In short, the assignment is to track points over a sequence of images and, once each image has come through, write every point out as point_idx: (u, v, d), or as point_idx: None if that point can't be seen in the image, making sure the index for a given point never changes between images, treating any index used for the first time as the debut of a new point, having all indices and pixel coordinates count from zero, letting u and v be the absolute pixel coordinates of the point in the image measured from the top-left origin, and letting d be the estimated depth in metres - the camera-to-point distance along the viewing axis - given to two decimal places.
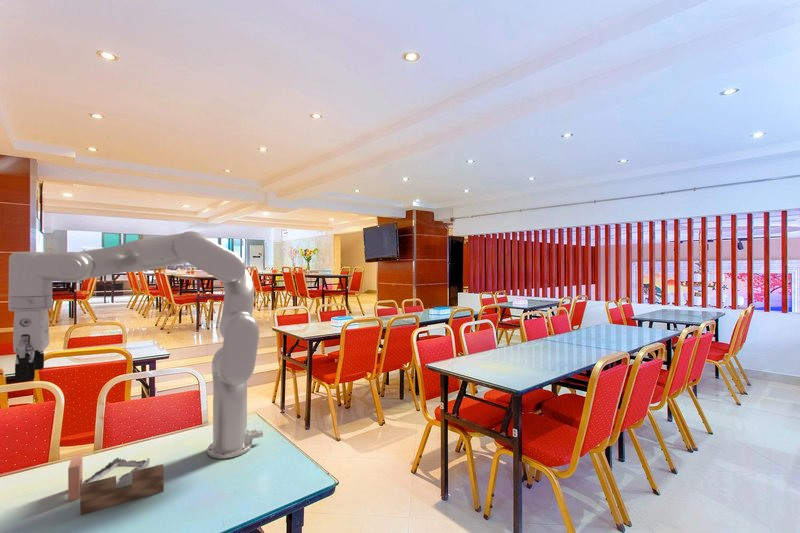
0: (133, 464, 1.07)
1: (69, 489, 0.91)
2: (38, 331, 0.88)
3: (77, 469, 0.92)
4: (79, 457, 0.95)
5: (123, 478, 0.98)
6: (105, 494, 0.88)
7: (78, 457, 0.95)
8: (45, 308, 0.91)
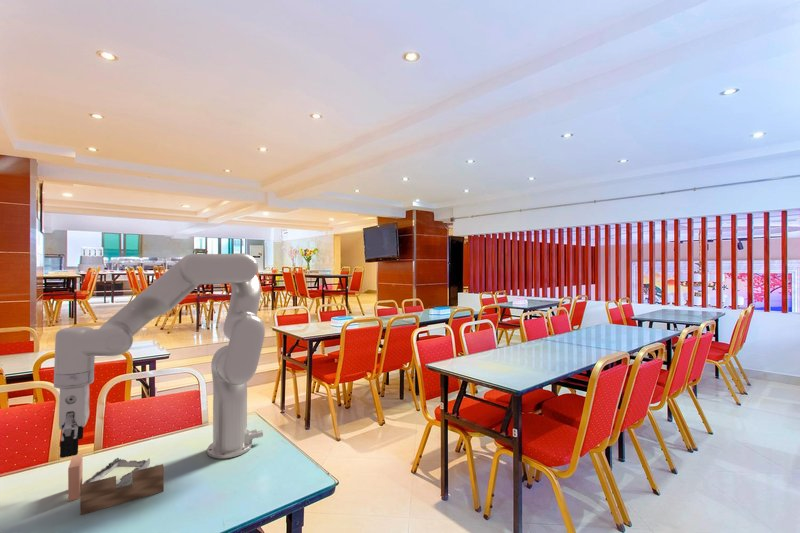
0: (133, 464, 1.07)
1: (69, 489, 0.91)
2: (82, 407, 0.91)
3: (77, 469, 0.92)
4: (79, 457, 0.95)
5: (124, 478, 0.98)
6: (105, 494, 0.88)
7: (78, 457, 0.95)
8: (88, 383, 0.93)
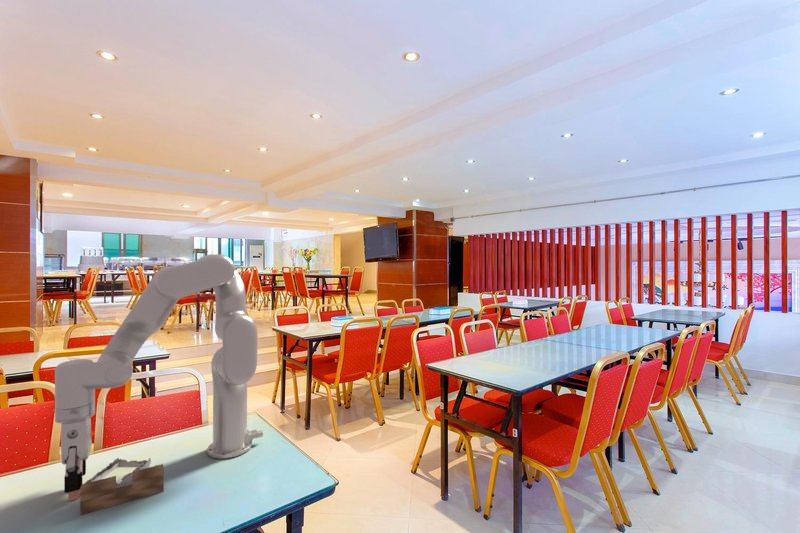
0: (134, 464, 1.06)
1: None
2: (84, 441, 0.91)
3: None
4: None
5: (125, 478, 0.98)
6: (105, 494, 0.88)
7: (78, 457, 0.95)
8: (89, 416, 0.93)
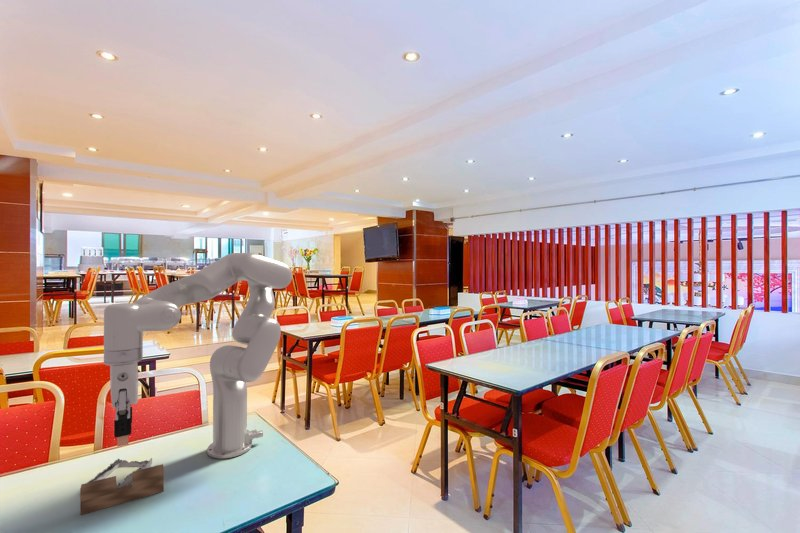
0: (135, 465, 1.06)
1: None
2: (134, 384, 0.88)
3: None
4: None
5: (127, 478, 0.98)
6: (105, 494, 0.88)
7: None
8: (138, 360, 0.91)
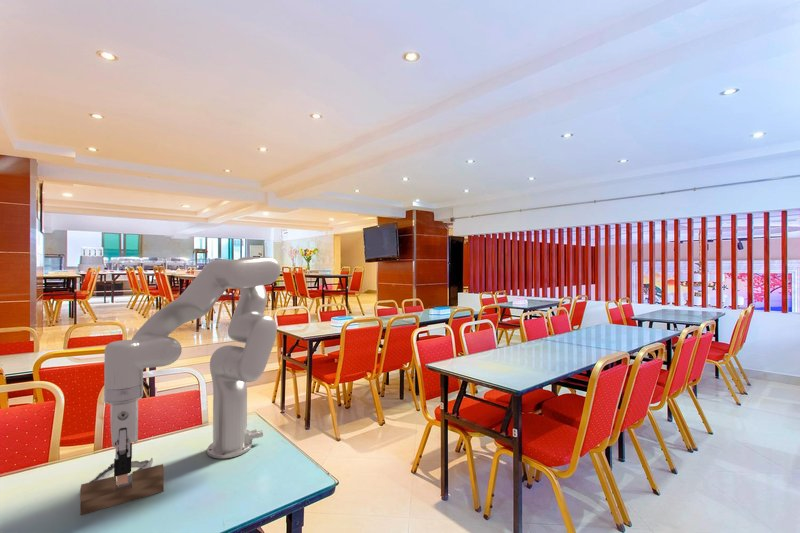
0: (135, 464, 1.06)
1: None
2: (134, 423, 0.88)
3: None
4: (126, 441, 0.93)
5: (128, 478, 0.98)
6: (105, 494, 0.88)
7: None
8: (138, 397, 0.91)
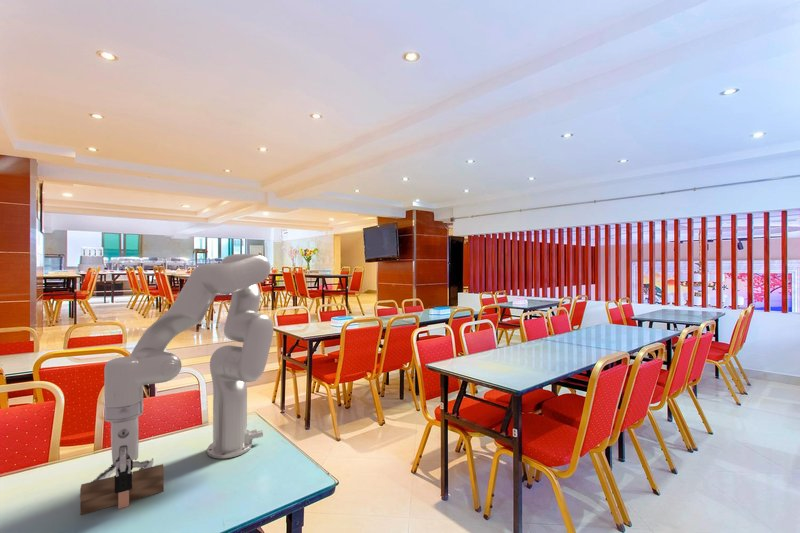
0: (136, 465, 1.06)
1: (119, 496, 0.88)
2: (134, 440, 0.88)
3: None
4: (127, 463, 0.93)
5: None
6: (105, 494, 0.88)
7: (126, 463, 0.93)
8: (139, 415, 0.91)
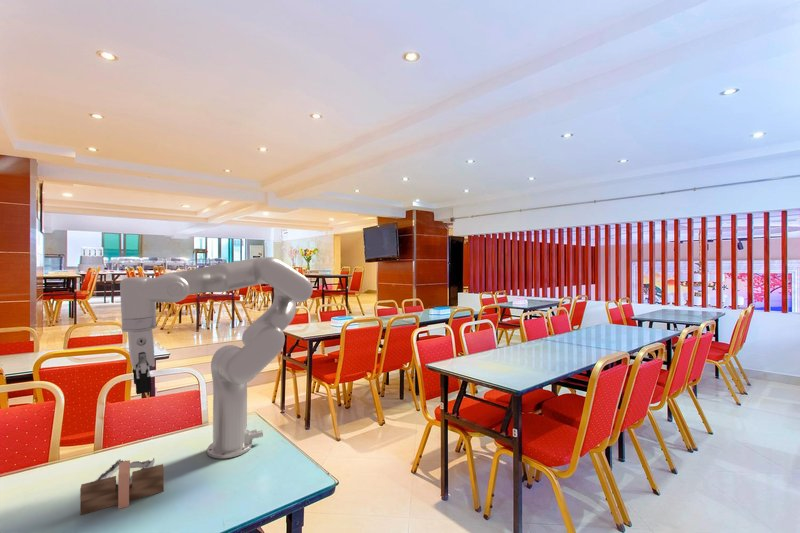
0: (137, 465, 1.06)
1: (119, 496, 0.88)
2: (151, 348, 0.98)
3: (127, 476, 0.89)
4: (127, 463, 0.93)
5: None
6: (105, 494, 0.88)
7: (126, 463, 0.93)
8: (153, 327, 1.00)
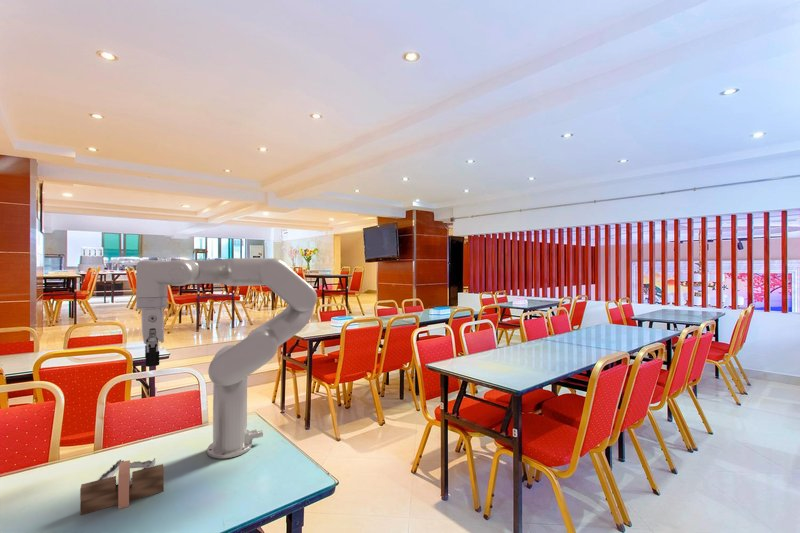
0: (138, 465, 1.06)
1: (119, 496, 0.88)
2: (161, 326, 1.07)
3: (127, 476, 0.89)
4: (127, 463, 0.93)
5: None
6: (105, 494, 0.88)
7: (126, 463, 0.93)
8: (164, 307, 1.09)
